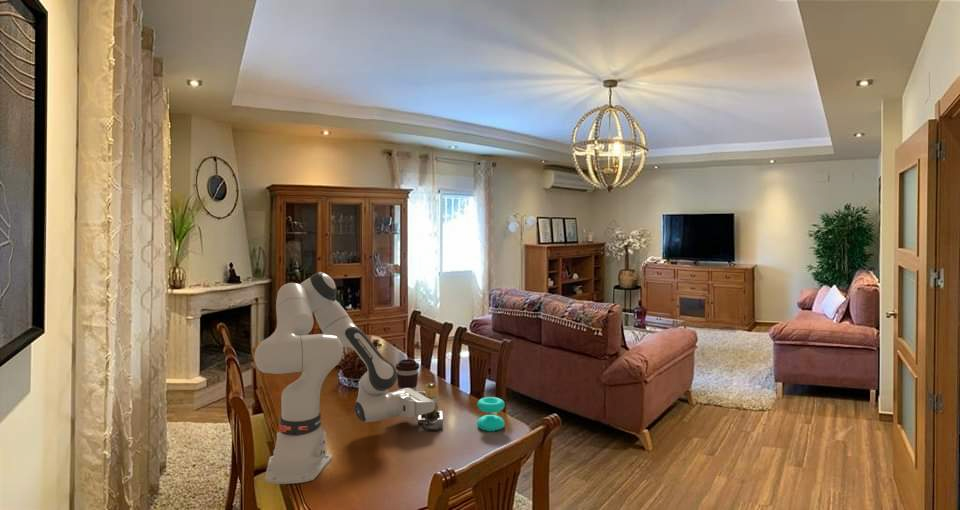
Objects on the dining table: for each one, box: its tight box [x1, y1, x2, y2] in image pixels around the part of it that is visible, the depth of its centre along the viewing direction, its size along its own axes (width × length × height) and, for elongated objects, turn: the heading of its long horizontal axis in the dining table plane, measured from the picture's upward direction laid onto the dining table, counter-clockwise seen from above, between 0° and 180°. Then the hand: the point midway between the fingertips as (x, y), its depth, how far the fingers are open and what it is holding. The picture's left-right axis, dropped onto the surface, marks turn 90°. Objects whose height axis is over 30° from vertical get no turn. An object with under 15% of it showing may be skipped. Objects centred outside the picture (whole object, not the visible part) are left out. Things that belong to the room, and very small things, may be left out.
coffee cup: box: [395, 358, 420, 391], centre depth 225 cm, size 10×10×15 cm
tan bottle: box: [424, 382, 439, 419], centre depth 198 cm, size 5×5×13 cm
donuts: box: [476, 396, 506, 432], centre depth 190 cm, size 10×10×10 cm
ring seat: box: [417, 410, 444, 425], centre depth 198 cm, size 9×9×1 cm
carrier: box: [422, 418, 444, 433], centre depth 191 cm, size 12×7×2 cm, turn 5°
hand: (432, 396), depth 198 cm, fingers open, 6 cm apart
